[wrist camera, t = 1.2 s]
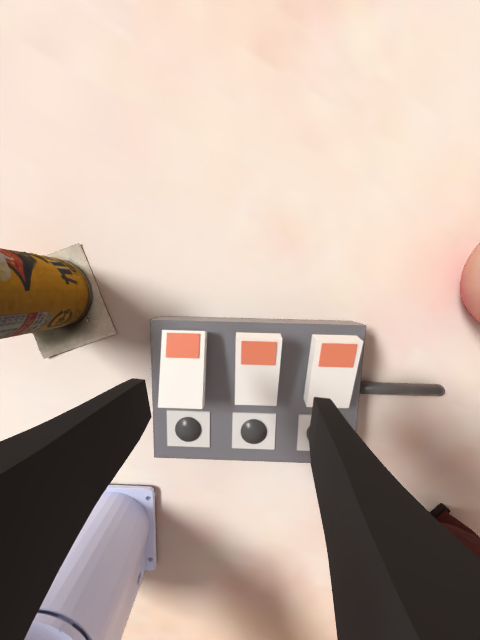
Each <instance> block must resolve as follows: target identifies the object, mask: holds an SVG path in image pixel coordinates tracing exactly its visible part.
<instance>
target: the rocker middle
mask: <svg viewBox="0 0 480 640" xmlns="http://www.w3.org/2000/svg"><path fill="white" fill-rule="evenodd" d="M281 350H282V337H281V334H280V333H243V332H236V351H235V405H261V406H277V395H278V383H279V372H280V361H281Z"/></svg>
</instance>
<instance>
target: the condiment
mask: <svg viewBox="0 0 480 640" xmlns="http://www.w3.org/2000/svg"><path fill="white" fill-rule="evenodd" d="M88 315H89V317H87V316H88ZM87 319H89V320H88V322H86V320H87ZM28 333H33V335H34V337H35V339H36V341H37V344H38V348H39V350H40V352H41V354H42V356H43V358H44V359H45V358H48V357H51V356H53V355H56V354H59V353H62V352H65V351H68V350H71V349H74V348H77V347H80V346H83V345H85V344H89V343H91V342H94V341H97V340H100V339H103V338H106V337H109V336H112V335H115V334H117V333H116V331H115V328H114V326H113V324H112V321H111V318H110V316H109V315H108V312H107V309H106V307H105V304H104V302H103V299H102V297H101V294H100V291H99V288H98V286H97V283H96V281H95V279H94V276H93V274H92V271H91V269H90V266H89V264H88V262H87V260H86V257H85V254H84V252H83V250H82V248H81V246H80V244H79V243H78V244H75V245H72V246H70V247H67V248H65V249H62V250H60V251H57V252H55V253H52V254H49V255H47V256H44V255H43V256H41V255H37V254H33V253H26V252H18V251H12V250H6V249H0V339H2V338H8V337H12V336H18V335H23V334H28Z"/></svg>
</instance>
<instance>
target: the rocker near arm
mask: <svg viewBox="0 0 480 640" xmlns="http://www.w3.org/2000/svg"><path fill="white" fill-rule="evenodd" d="M206 353H207V331H185V330H162V340H161V359H160V377H159V396H158V408H186V409H202V408H203V407H204V405H205V379H206Z"/></svg>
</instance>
